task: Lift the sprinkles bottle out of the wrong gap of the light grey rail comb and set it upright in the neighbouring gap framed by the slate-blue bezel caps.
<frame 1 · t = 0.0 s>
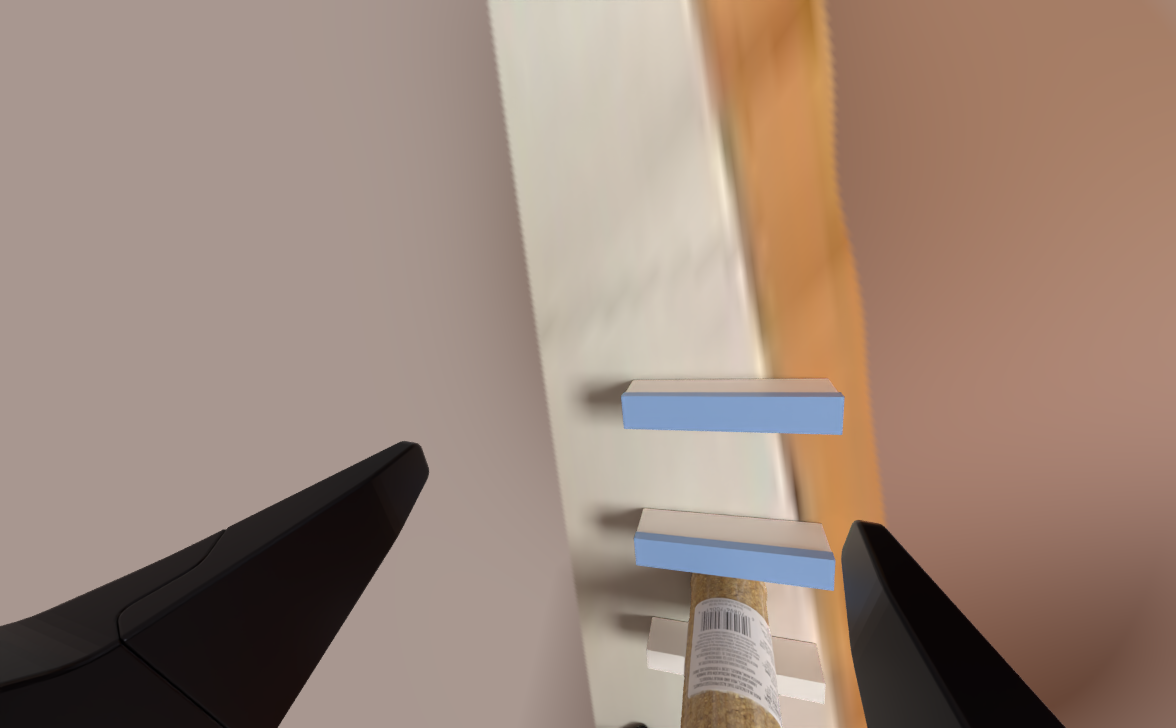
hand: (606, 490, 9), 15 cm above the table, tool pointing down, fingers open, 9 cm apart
sprinkles bottle: (728, 582, 27), on the table
rail comb: (727, 526, 25), on the table
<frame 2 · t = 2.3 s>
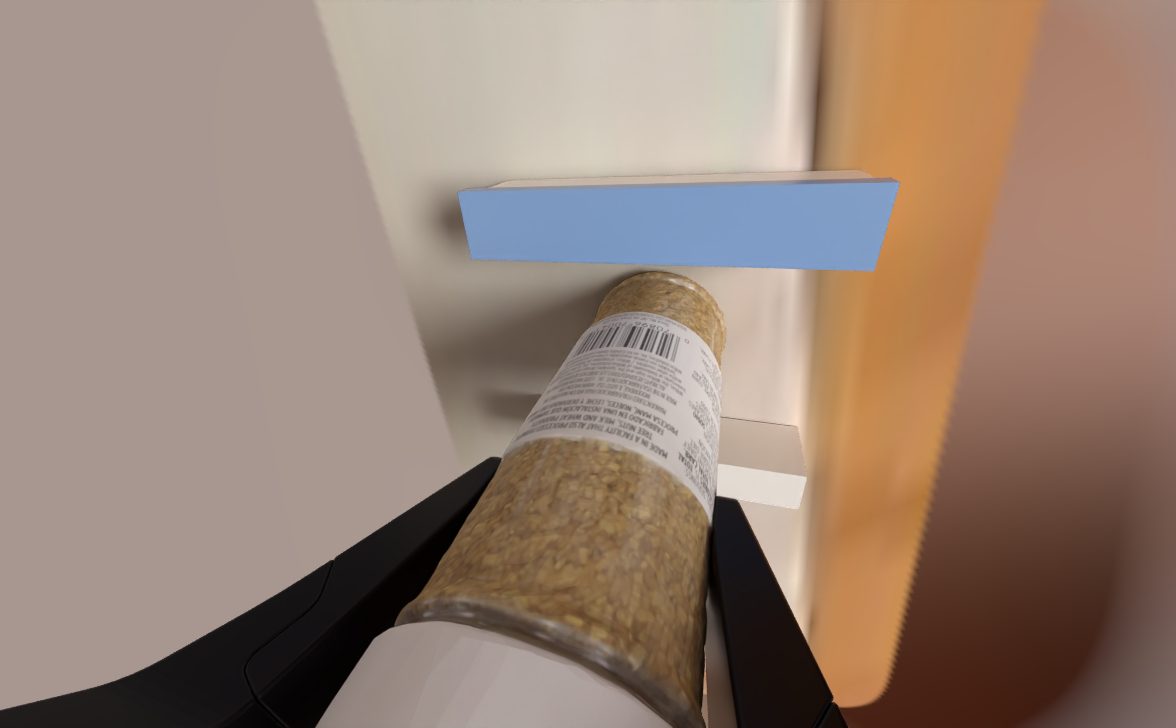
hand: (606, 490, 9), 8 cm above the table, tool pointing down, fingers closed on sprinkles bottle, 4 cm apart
sprinkles bottle: (661, 327, 15), on the table, touching gripper
rail comb: (664, 202, 13), on the table
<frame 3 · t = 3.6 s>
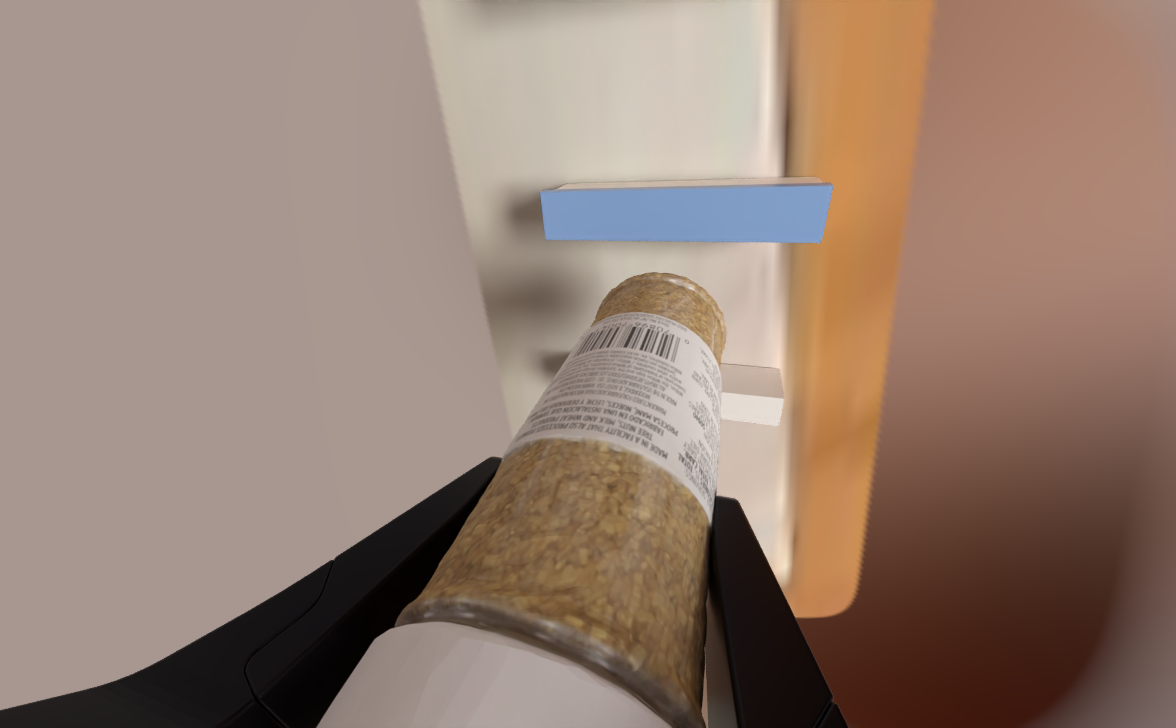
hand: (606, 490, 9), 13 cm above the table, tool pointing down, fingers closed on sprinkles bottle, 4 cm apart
sprinkles bottle: (661, 327, 15), point 5 cm above the table, touching gripper
rail comb: (681, 199, 18), on the table
when the fingers open (9 cm above the table, at t = 5.4 s): sprinkles bottle drops 1 cm, on the table.
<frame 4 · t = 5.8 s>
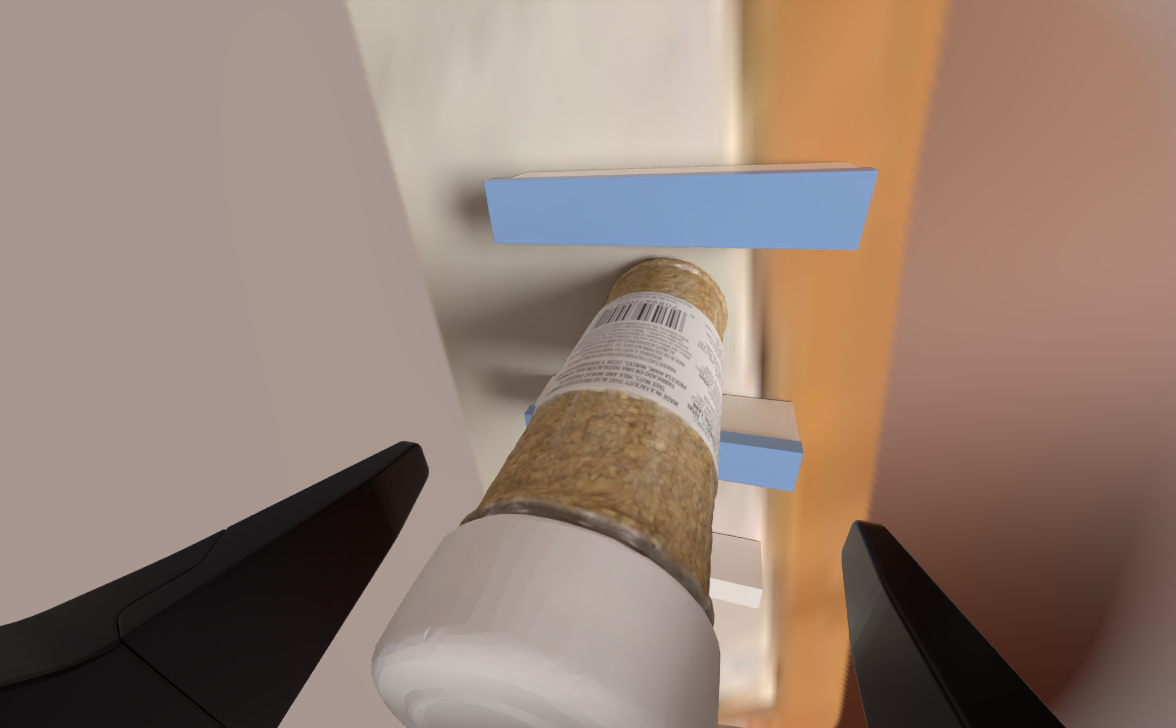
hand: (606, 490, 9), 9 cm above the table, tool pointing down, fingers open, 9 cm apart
sprinkles bottle: (667, 310, 16), on the table
rail comb: (662, 402, 18), on the table
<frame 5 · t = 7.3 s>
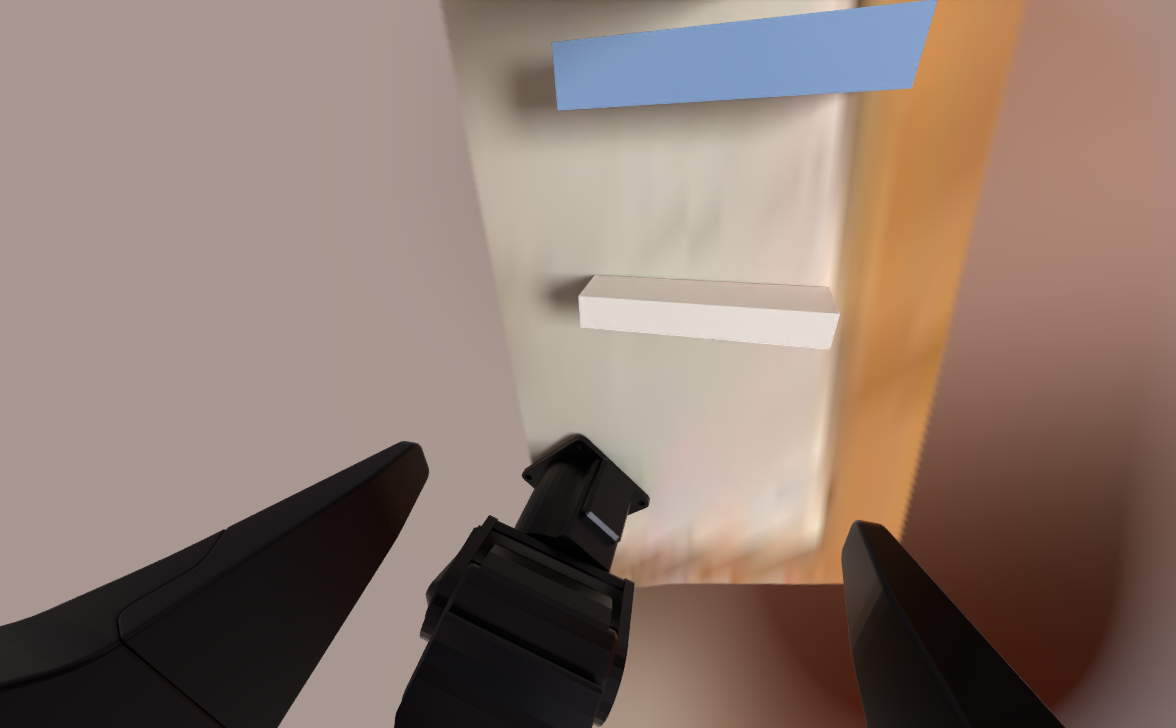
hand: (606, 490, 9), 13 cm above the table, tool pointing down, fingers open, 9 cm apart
rail comb: (722, 67, 15), on the table
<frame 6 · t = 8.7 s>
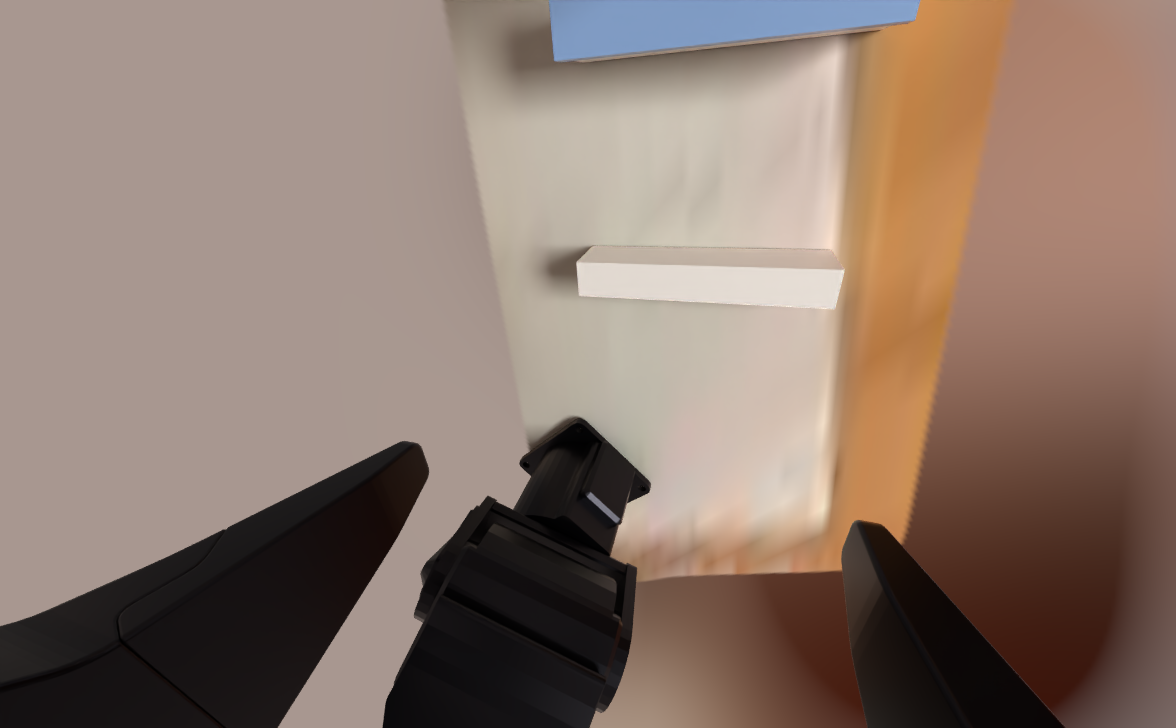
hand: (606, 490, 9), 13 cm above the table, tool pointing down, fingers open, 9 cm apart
rail comb: (720, 20, 14), on the table
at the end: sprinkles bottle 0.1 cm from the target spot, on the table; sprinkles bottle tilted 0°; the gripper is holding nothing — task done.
